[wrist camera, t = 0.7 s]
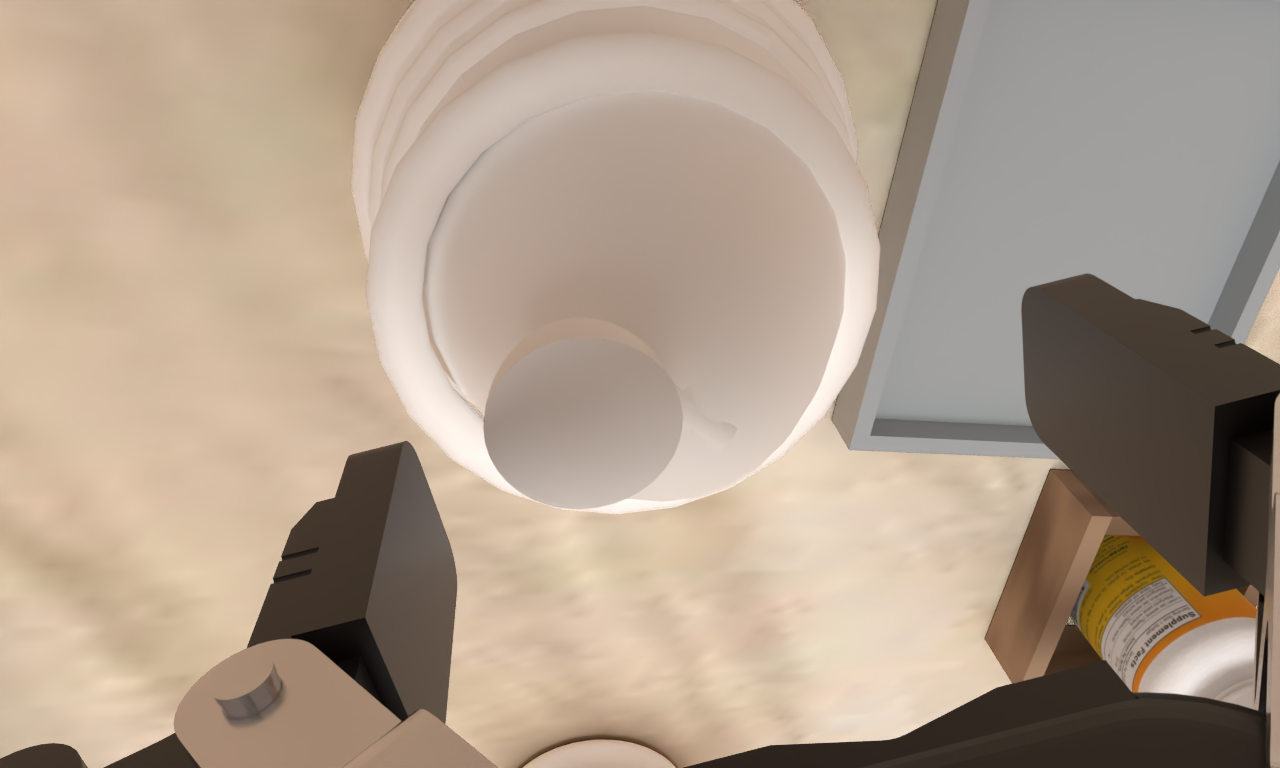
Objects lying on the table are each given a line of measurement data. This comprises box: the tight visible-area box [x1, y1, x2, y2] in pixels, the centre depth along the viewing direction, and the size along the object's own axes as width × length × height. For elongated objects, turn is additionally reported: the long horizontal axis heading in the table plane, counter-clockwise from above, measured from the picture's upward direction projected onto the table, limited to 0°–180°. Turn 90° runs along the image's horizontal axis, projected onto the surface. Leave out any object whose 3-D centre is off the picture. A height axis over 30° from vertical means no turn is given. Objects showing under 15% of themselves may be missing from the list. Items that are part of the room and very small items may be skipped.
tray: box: [832, 0, 1280, 459], centre depth 31 cm, size 16×13×2 cm
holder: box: [985, 469, 1258, 684], centre depth 38 cm, size 9×9×3 cm
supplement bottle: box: [1070, 535, 1257, 709], centre depth 35 cm, size 5×5×10 cm
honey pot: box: [351, 0, 880, 514], centre depth 21 cm, size 13×13×18 cm
